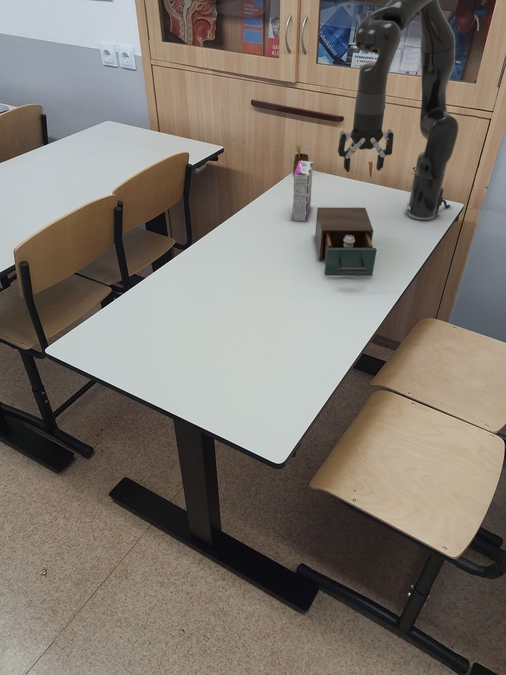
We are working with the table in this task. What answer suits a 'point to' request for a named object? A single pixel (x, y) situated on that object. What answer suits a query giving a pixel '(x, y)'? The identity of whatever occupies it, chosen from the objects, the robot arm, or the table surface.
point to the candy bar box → (302, 190)
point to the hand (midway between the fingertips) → (362, 170)
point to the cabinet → (340, 224)
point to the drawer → (348, 255)
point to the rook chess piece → (349, 241)
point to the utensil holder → (299, 157)
